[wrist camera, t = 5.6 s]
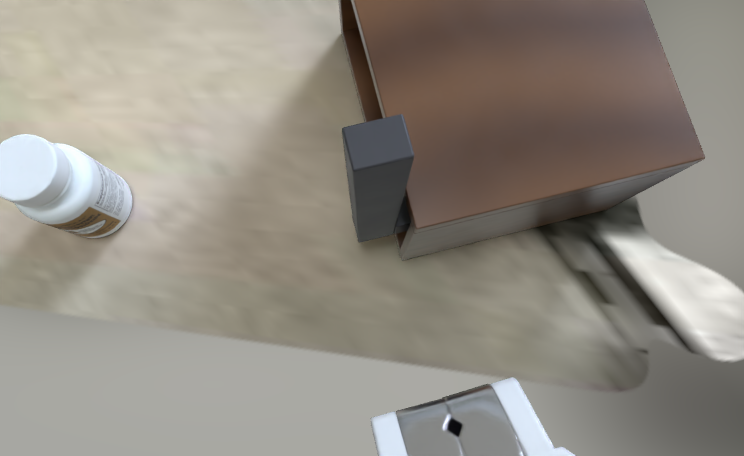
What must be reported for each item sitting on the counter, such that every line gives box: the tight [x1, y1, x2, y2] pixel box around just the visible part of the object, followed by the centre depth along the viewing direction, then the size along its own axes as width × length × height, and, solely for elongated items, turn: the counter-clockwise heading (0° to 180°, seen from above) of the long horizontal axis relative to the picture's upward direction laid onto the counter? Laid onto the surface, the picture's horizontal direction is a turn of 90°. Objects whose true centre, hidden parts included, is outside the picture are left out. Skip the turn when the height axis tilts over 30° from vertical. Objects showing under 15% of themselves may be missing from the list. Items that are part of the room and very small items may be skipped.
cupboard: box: [339, 0, 705, 260], centre depth 30 cm, size 16×14×10 cm
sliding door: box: [342, 114, 414, 242], centre depth 25 cm, size 7×4×16 cm, turn 14°
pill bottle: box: [0, 134, 132, 238], centre depth 30 cm, size 4×4×8 cm
